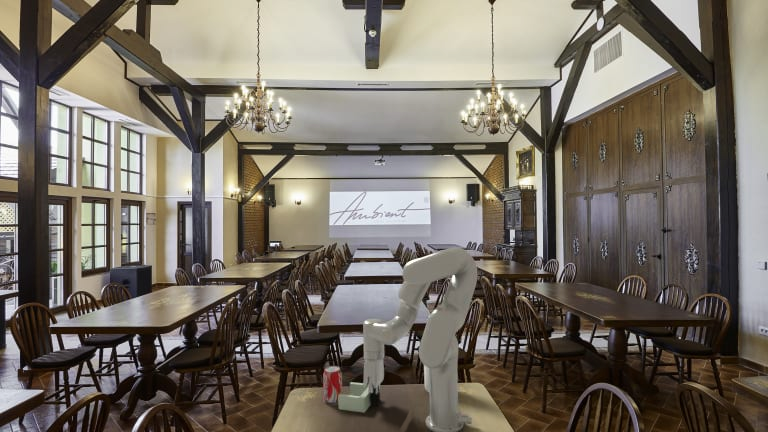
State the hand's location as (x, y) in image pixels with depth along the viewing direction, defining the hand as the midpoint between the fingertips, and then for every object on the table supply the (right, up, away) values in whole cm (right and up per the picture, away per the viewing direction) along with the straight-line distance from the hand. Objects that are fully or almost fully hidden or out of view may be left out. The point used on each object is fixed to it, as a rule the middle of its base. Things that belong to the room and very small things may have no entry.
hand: (375, 403), depth 150 cm
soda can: (-16, -1, +5) cm, 17 cm away
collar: (-7, -1, +2) cm, 7 cm away
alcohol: (+24, -2, +15) cm, 29 cm away
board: (-13, -3, +4) cm, 14 cm away
